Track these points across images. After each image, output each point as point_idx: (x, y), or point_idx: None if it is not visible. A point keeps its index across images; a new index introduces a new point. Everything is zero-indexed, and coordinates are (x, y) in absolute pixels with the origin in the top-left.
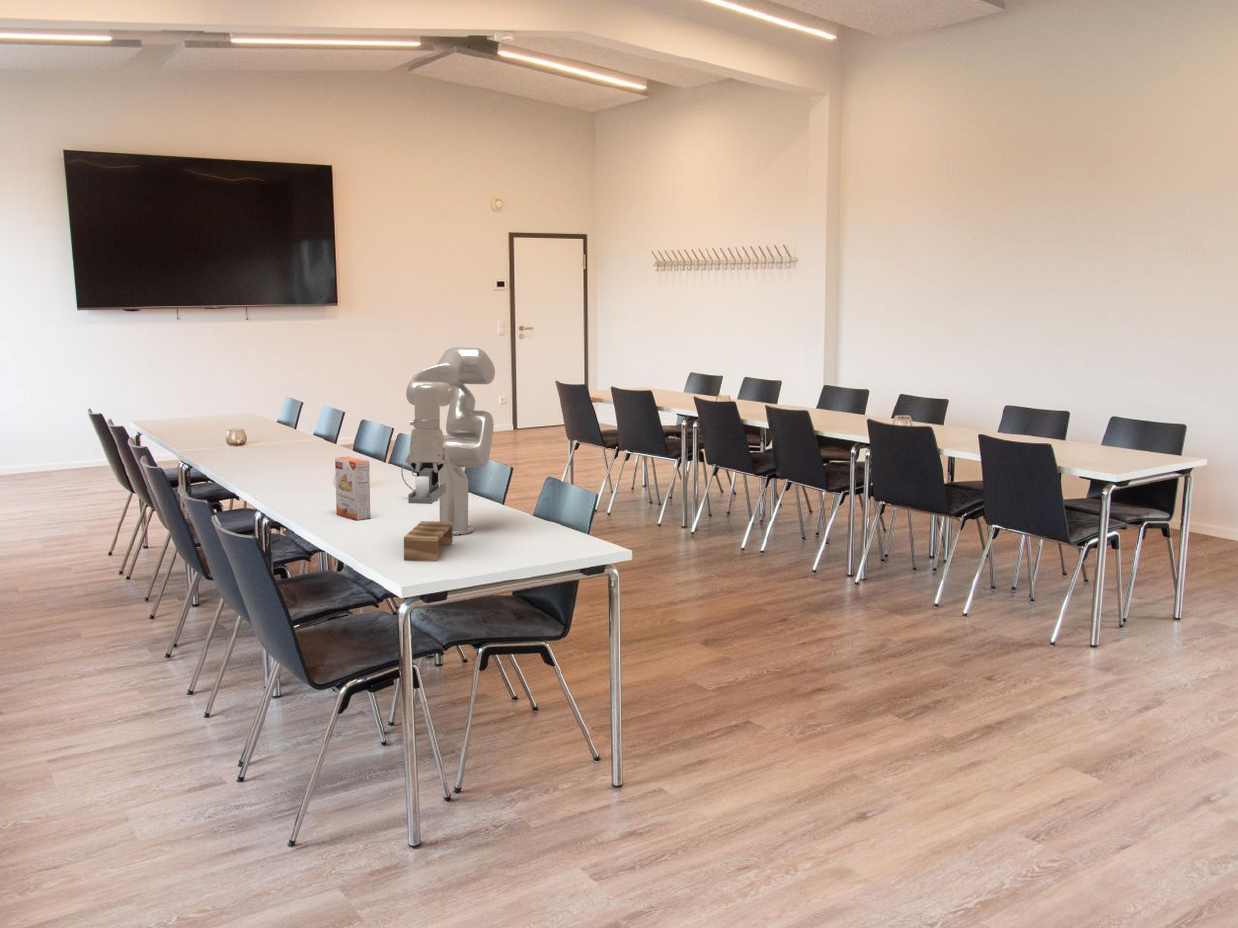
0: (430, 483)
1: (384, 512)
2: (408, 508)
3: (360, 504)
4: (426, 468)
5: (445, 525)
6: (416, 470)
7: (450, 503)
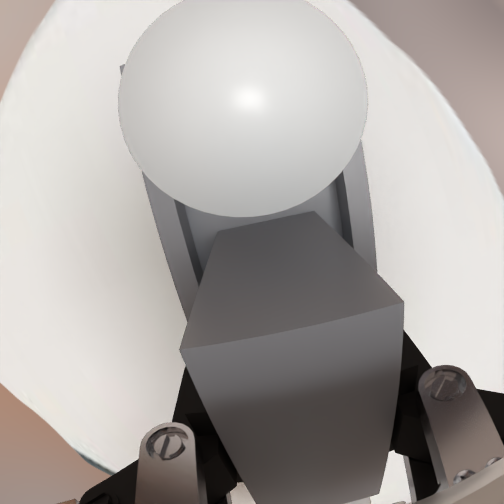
0: (208, 266)
1: None
2: None
3: None
4: (355, 495)
5: None
6: (453, 377)
7: None
